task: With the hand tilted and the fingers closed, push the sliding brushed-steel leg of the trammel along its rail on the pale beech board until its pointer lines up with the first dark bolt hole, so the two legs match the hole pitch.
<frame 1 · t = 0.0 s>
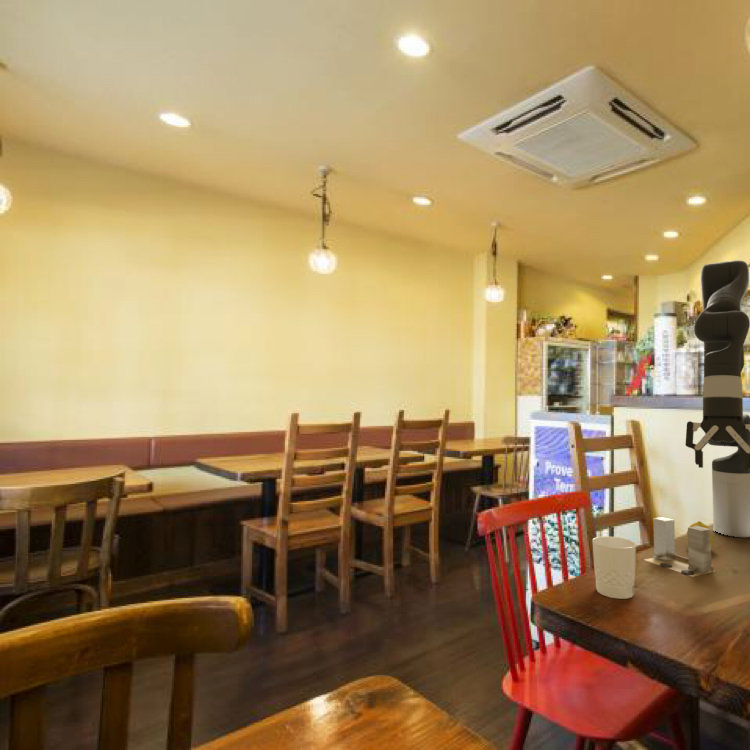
hand: (723, 469, 115), 22 cm above the table, tool pointing down, fingers open, 8 cm apart
white cup: (614, 593, 102), on the table
lemon: (700, 555, 125), on the table
gauge board: (679, 570, 114), on the table
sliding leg: (661, 539, 118), point 6 cm above the table, slide at 0.0 cm
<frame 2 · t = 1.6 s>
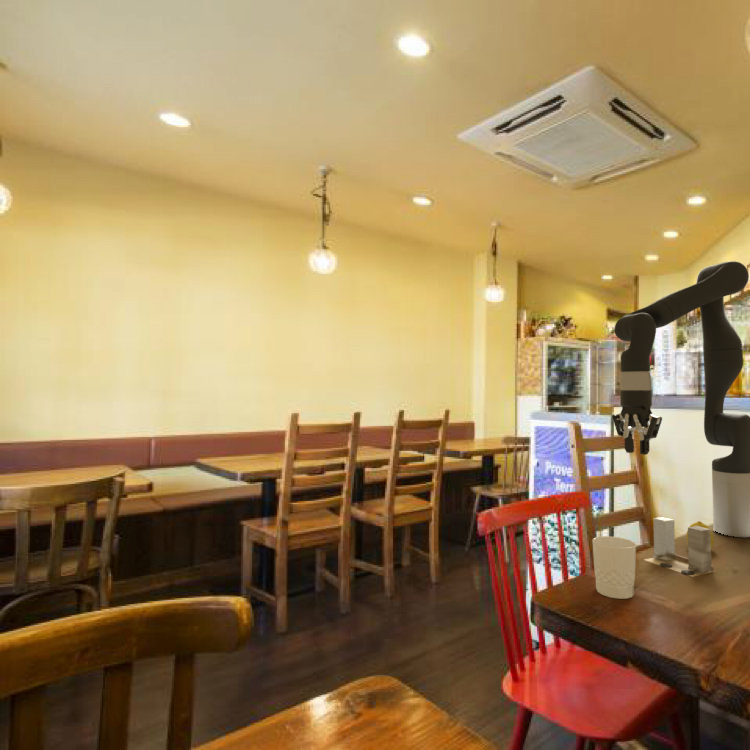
hand: (636, 453, 137), 23 cm above the table, tool pointing down, fingers open, 3 cm apart
nothing on the table moved.
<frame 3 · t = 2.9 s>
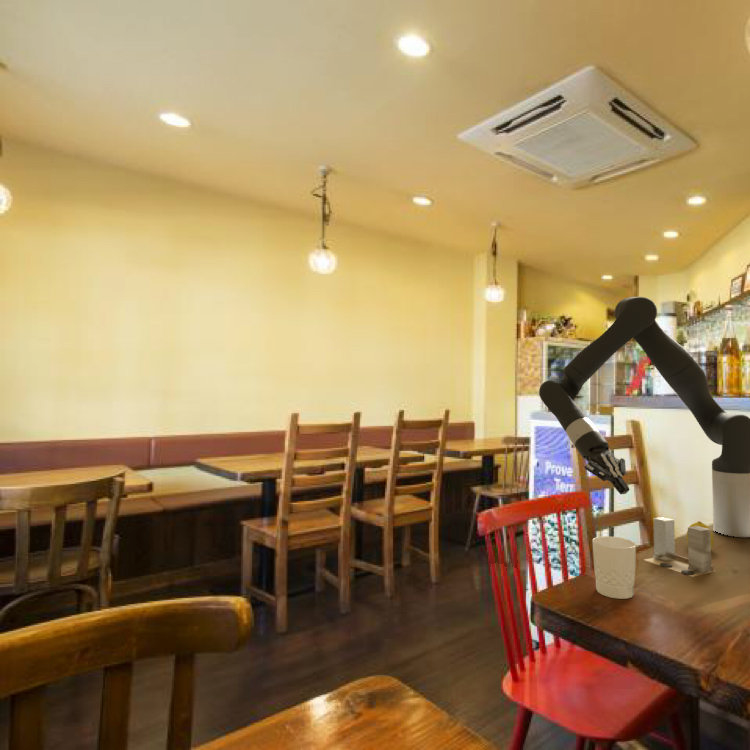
hand: (625, 492, 128), 15 cm above the table, tool tilted 45°, fingers closed
nothing on the table moved.
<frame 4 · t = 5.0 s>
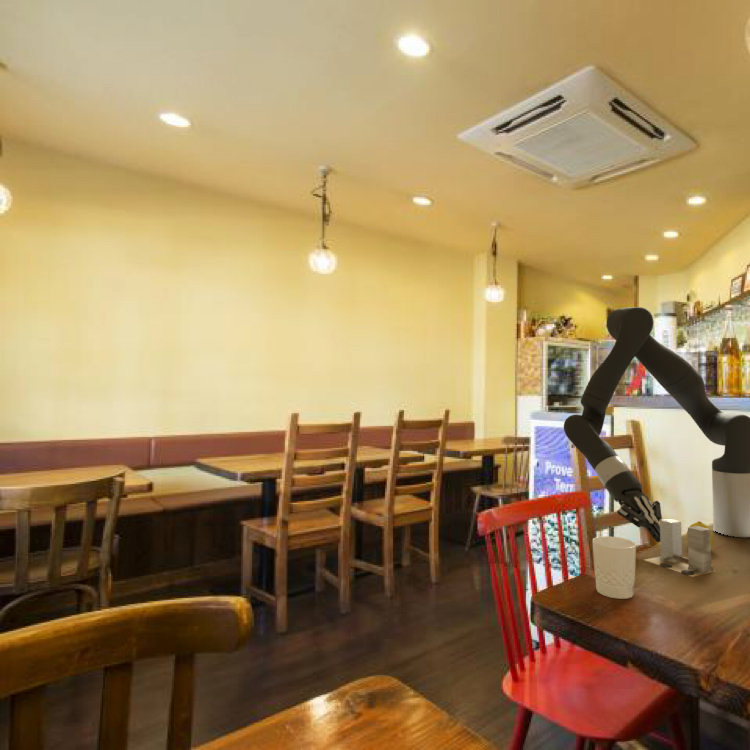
hand: (662, 540, 119), 5 cm above the table, tool tilted 45°, fingers closed
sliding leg: (668, 541, 117), point 6 cm above the table, slide at 1.7 cm, touching gripper
everything else where it was.
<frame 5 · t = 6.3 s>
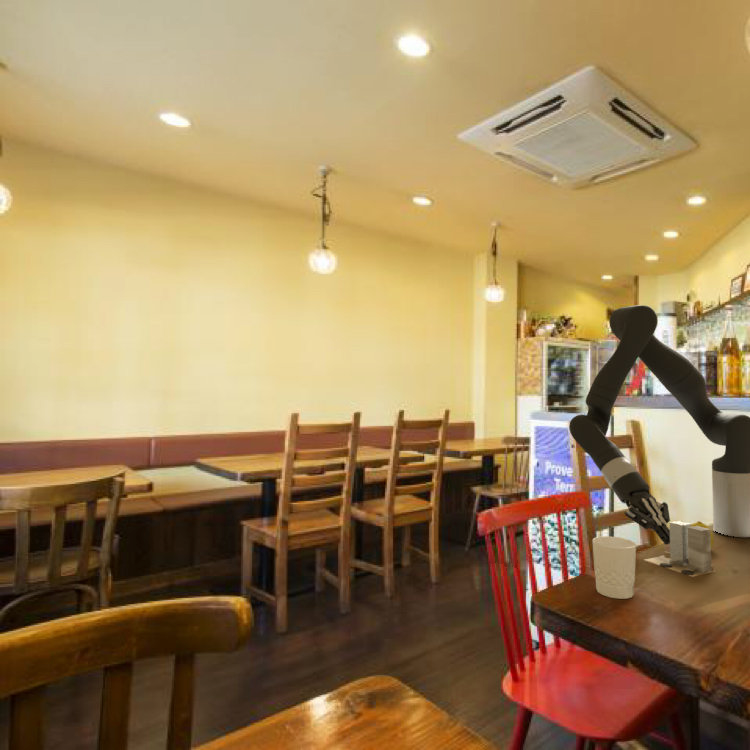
hand: (671, 542, 117), 5 cm above the table, tool tilted 45°, fingers closed
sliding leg: (678, 543, 115), point 6 cm above the table, slide at 4.0 cm
everything else where it was.
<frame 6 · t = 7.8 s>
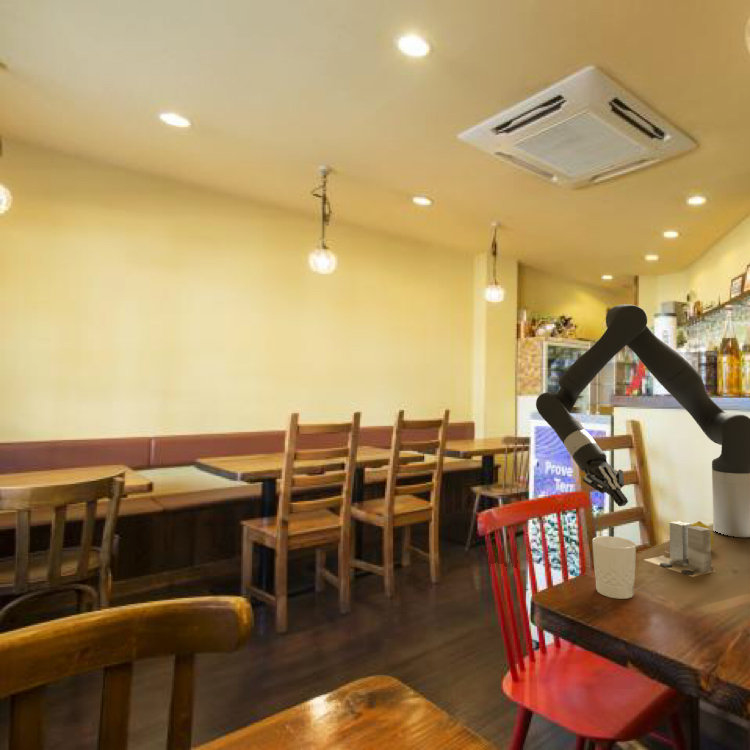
hand: (624, 504, 129), 11 cm above the table, tool tilted 45°, fingers closed
nothing on the table moved.
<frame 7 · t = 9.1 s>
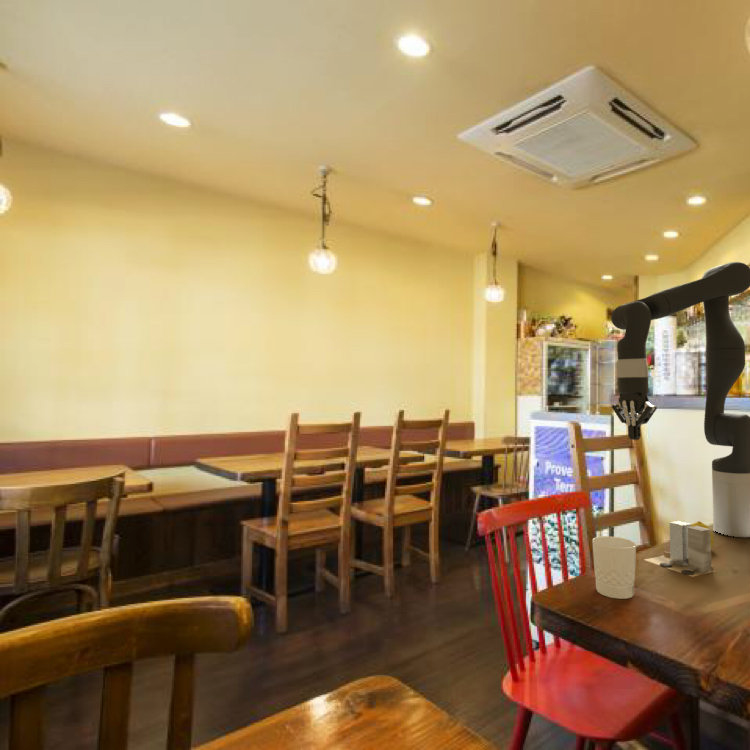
hand: (634, 439, 140), 27 cm above the table, tool pointing down, fingers closed
nothing on the table moved.
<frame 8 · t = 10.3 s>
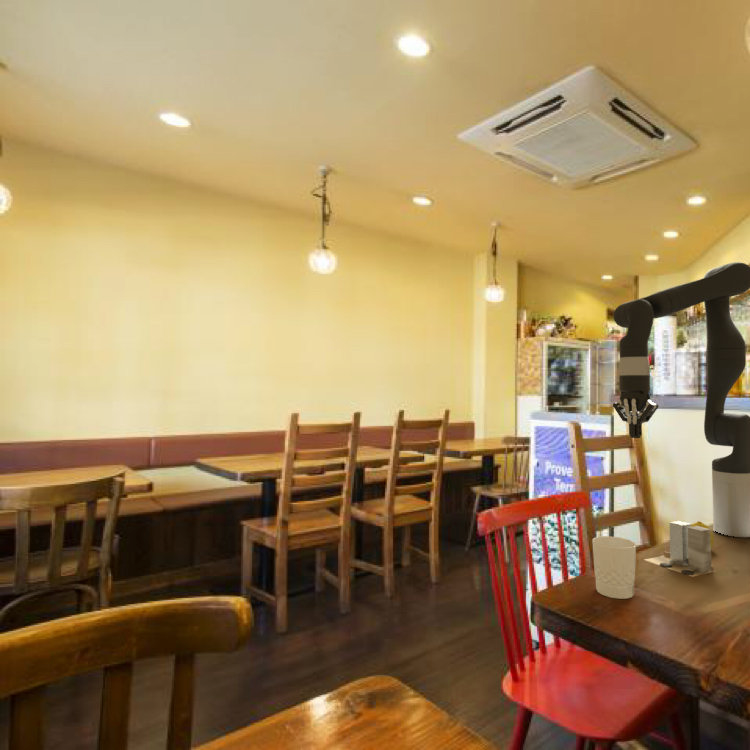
hand: (635, 437, 140), 27 cm above the table, tool pointing down, fingers closed
nothing on the table moved.
at the end: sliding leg slide at 4.0 cm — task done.
